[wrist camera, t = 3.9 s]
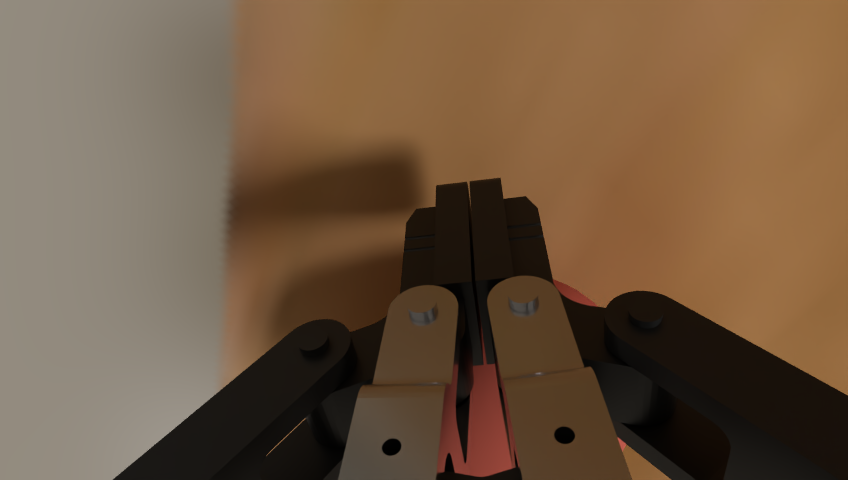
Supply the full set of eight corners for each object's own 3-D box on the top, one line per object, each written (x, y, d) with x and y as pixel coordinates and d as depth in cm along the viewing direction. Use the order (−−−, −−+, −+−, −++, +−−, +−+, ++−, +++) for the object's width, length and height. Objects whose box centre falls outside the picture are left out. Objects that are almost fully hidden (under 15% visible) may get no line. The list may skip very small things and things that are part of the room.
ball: (391, 241, 17) (370, 422, 13) (610, 215, 17) (676, 398, 12) (427, 380, 21) (421, 560, 16) (608, 364, 20) (657, 549, 15)
